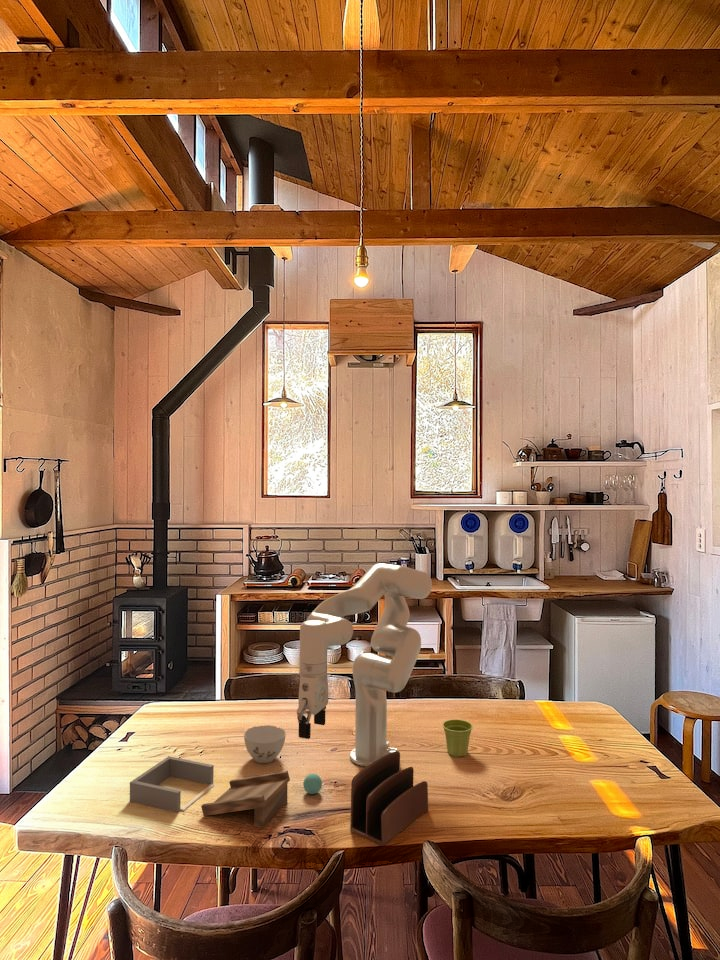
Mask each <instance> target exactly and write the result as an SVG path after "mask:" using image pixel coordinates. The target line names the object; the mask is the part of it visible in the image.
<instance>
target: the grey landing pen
mask: <svg viewBox="0 0 720 960" xmlns="http://www.w3.org/2000/svg"><path fill="white" fill-rule="evenodd" d="M169 777H172V778H175V779H181V780H185V781H191V782H195V783H199V784H205V785H208V786H206V787H205V788H204V789H203V790H202V791H201V792H199V793H198V794H197V795H195V797H193V798H192V799H190V801H188V802H186V803H185V805H183V807H181V805H182V804H181V798H182V797H181V792H182V791H181V790H180V789H175V788H169V787H166V786H161V785H159V784H161V783H163V782H164V781H165V780H166V779H168V778H169ZM213 787H215V784H214V764H209V763H205V762H201V761H194V760H191V759H186V758H185V759H184V758H179V757H174V756H167V757H166V758H164V759H162V760H161V761H160V762H157V763H156V764H155V765H154V766H152V767H151V768H150V767H149V769H147V770H146V771H145V772H143V773H141V774H140V775H139V776H137V777H135V778H134V779H133V780H131V781H130V782H129V802H131V803H135V804H139V805H143V806H147V807H148V806H149V807H152V808H156V809H157V808H158V809H160V810H166V811H170V812H174V813H179V812H180V811H183V812H184V811H185V810H187V809H188V808H189V807H190V806H191V805H193V804H194V803H195V802H196V801H198V800H199V799H200V798H201V797H202V796H203V795H205V794H206V793H207V792H208V791H209V790H211V789H212V788H213Z"/></svg>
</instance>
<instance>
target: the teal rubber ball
mask: <svg viewBox="0 0 720 960" xmlns="http://www.w3.org/2000/svg"><path fill="white" fill-rule="evenodd" d="M322 786H323V781H322V778H321V777H320V775H318V773H309V774H307V776H305V778H304V780H303V789H304V791H305V792H306V793H308V794H310V795H315V794H317V793H319V792H320V791H321V789H322Z"/></svg>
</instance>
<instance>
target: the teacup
mask: <svg viewBox="0 0 720 960" xmlns="http://www.w3.org/2000/svg"><path fill="white" fill-rule="evenodd" d="M286 734H287V733H286V730H285V729H284V728H281V727H277V726H276V725H275V726H274V725H268V724H267V725H257V726H252V727H250V728H248V729H246V730H245V731H244V733H243V740H244V745H245V748H246V751H247V752H248V753H249V755H250V757H251V758H252V759H253V760H254V762H257V763H259V764H269V763H271V762H273V761H274V760H275V759H276V758H277V757H278V755H279V754H280V753H281V751H282V749H283V748H284V745H285V741H286Z"/></svg>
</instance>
